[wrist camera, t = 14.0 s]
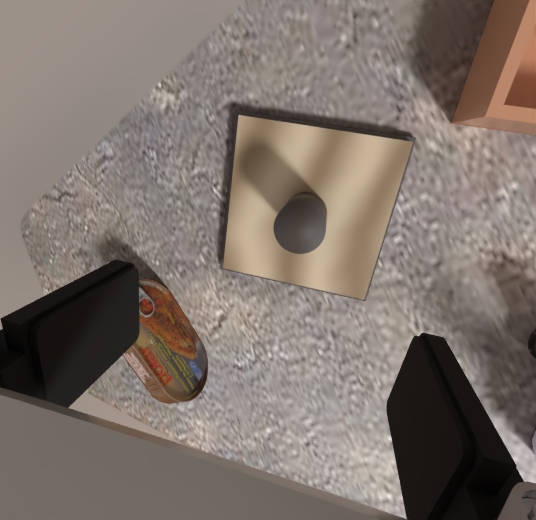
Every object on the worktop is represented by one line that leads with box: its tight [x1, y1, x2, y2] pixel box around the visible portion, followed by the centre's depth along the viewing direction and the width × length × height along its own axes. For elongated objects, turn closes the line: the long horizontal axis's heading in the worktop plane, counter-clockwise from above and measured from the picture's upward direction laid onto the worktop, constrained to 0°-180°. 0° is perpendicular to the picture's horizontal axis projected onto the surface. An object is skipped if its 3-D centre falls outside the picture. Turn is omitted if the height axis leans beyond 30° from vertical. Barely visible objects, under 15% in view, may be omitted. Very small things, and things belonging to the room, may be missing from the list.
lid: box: [223, 115, 413, 300], centre depth 26 cm, size 15×15×7 cm
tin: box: [123, 279, 208, 404], centre depth 34 cm, size 15×3×8 cm, turn 27°
